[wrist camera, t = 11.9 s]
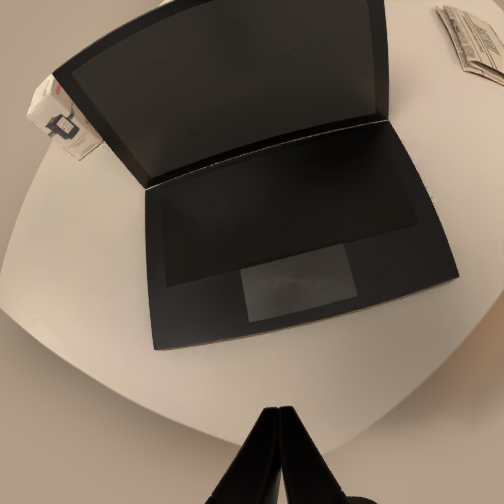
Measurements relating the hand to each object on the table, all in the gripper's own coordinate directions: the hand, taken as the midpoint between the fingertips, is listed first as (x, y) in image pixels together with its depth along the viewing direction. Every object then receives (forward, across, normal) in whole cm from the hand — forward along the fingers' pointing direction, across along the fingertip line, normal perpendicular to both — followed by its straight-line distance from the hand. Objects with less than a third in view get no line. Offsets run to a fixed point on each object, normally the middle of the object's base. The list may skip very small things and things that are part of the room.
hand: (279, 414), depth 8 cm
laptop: (+17, -1, -1) cm, 17 cm away
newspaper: (+31, -36, -25) cm, 54 cm away
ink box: (+33, +25, -15) cm, 44 cm away
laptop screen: (+15, +1, -13) cm, 20 cm away
